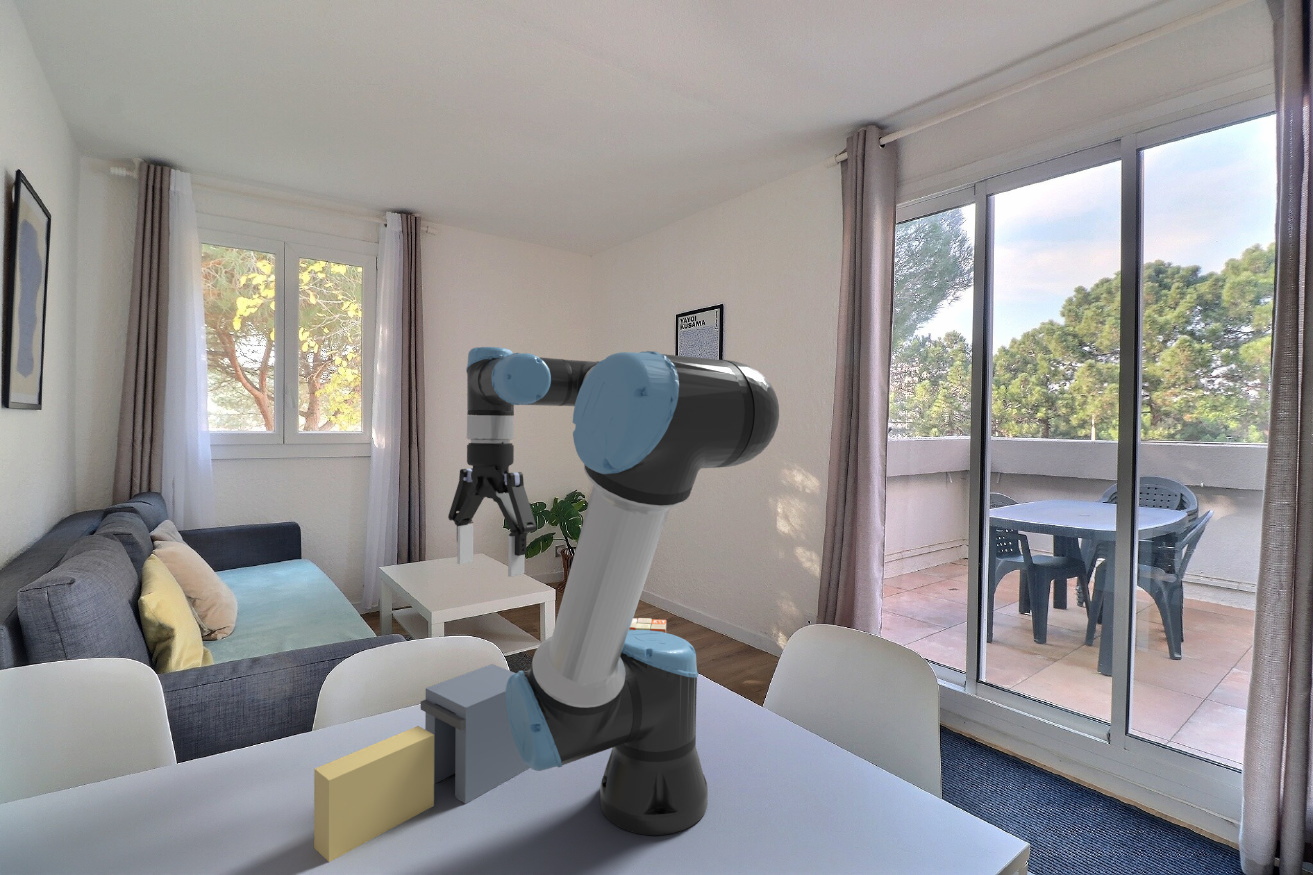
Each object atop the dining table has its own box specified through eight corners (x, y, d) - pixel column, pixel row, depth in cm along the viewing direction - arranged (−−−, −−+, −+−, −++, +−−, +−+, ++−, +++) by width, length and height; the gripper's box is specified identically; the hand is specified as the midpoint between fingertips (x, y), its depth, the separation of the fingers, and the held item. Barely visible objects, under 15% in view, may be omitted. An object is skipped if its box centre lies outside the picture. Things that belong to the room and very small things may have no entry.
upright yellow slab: (433, 806, 85) (434, 734, 84) (329, 862, 73) (329, 780, 73) (417, 795, 87) (418, 725, 87) (314, 848, 76) (314, 768, 76)
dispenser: (532, 766, 94) (532, 679, 94) (460, 806, 84) (460, 709, 84) (491, 745, 101) (492, 663, 100) (420, 780, 90) (420, 689, 90)
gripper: (559, 443, 97) (558, 576, 97) (464, 439, 112) (464, 554, 113) (522, 443, 91) (521, 585, 91) (427, 440, 106) (427, 561, 107)
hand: (489, 568), depth 102 cm, fingers open, 13 cm apart
